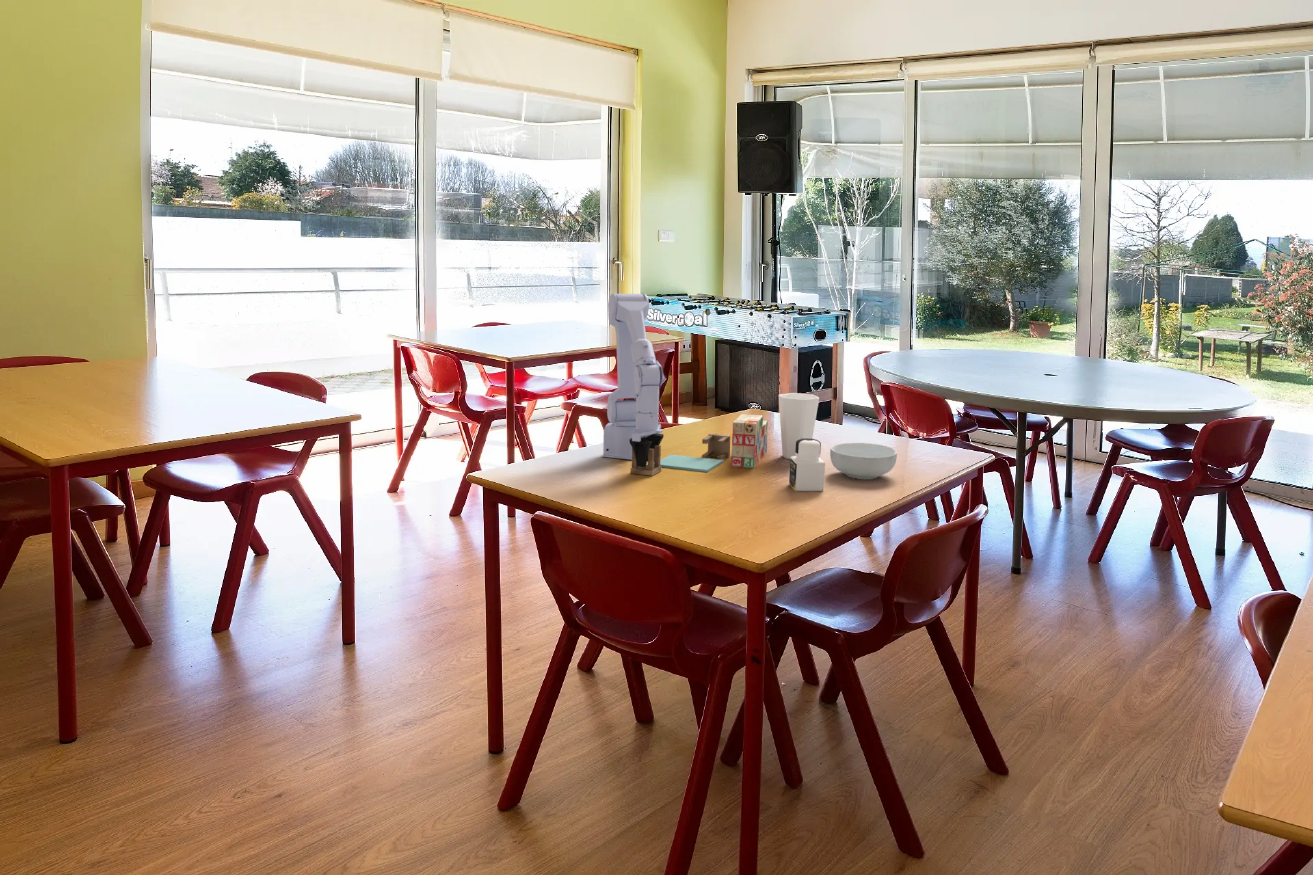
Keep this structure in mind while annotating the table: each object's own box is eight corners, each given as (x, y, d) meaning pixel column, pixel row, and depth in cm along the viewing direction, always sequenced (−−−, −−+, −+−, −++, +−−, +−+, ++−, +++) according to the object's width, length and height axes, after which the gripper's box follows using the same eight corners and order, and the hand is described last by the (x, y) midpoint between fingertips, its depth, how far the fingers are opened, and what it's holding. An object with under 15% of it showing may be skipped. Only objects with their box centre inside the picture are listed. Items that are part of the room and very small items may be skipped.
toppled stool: (701, 438, 285) (709, 433, 291) (701, 459, 286) (709, 454, 292) (722, 440, 283) (730, 435, 289) (722, 462, 284) (729, 456, 290)
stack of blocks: (745, 451, 299) (746, 408, 296) (767, 452, 297) (769, 409, 295) (730, 467, 278) (732, 421, 276) (754, 469, 277) (756, 423, 274)
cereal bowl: (816, 471, 276) (818, 444, 275) (870, 466, 282) (871, 440, 281) (853, 486, 261) (854, 458, 259) (908, 481, 267) (910, 453, 266)
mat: (653, 466, 277) (653, 463, 277) (671, 456, 289) (671, 454, 289) (707, 472, 272) (707, 469, 271) (723, 462, 283) (723, 460, 283)
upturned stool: (630, 473, 268) (631, 447, 267) (639, 468, 274) (640, 443, 272) (652, 475, 266) (653, 450, 265) (661, 470, 271) (661, 445, 270)
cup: (771, 458, 289) (773, 397, 286) (781, 451, 298) (783, 392, 295) (811, 462, 285) (814, 400, 282) (820, 455, 294) (823, 395, 291)
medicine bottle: (788, 484, 261) (790, 436, 259) (817, 484, 262) (819, 436, 259) (794, 491, 254) (797, 442, 252) (823, 491, 255) (826, 442, 252)
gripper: (651, 417, 259) (650, 471, 261) (672, 408, 272) (670, 460, 275) (624, 415, 261) (623, 468, 264) (646, 406, 274) (645, 457, 277)
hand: (646, 464), depth 269 cm, fingers closed on upturned stool, 5 cm apart
